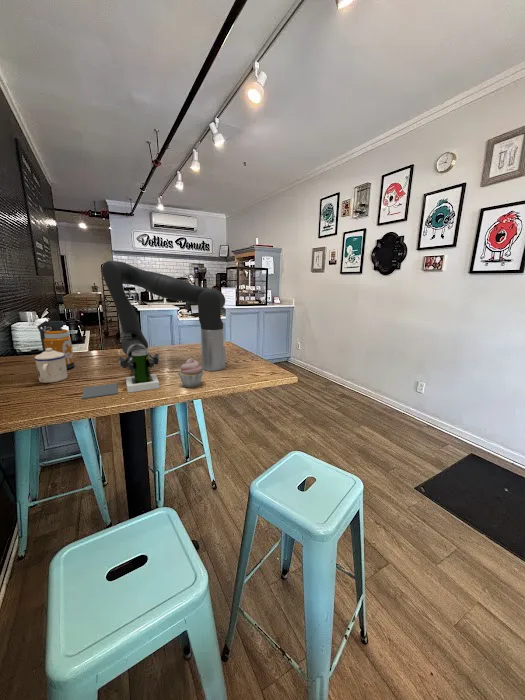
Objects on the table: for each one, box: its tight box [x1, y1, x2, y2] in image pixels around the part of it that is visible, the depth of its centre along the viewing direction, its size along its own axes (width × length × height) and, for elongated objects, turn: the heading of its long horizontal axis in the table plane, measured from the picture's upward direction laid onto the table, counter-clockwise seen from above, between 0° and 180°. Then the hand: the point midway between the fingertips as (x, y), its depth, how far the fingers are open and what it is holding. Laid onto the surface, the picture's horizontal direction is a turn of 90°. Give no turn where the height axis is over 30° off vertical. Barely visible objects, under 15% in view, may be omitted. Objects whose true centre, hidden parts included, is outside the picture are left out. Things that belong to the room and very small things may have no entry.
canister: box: [36, 319, 75, 370], centre depth 115 cm, size 9×11×20 cm
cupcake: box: [177, 357, 205, 388], centre depth 101 cm, size 9×9×10 cm
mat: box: [81, 382, 118, 400], centre depth 94 cm, size 10×10×1 cm
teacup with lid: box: [34, 348, 68, 384], centre depth 102 cm, size 12×9×12 cm
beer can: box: [132, 349, 152, 384], centre depth 99 cm, size 5×5×12 cm
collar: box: [125, 373, 160, 393], centre depth 100 cm, size 10×10×2 cm
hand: (141, 366), depth 96 cm, fingers closed on beer can, 5 cm apart
